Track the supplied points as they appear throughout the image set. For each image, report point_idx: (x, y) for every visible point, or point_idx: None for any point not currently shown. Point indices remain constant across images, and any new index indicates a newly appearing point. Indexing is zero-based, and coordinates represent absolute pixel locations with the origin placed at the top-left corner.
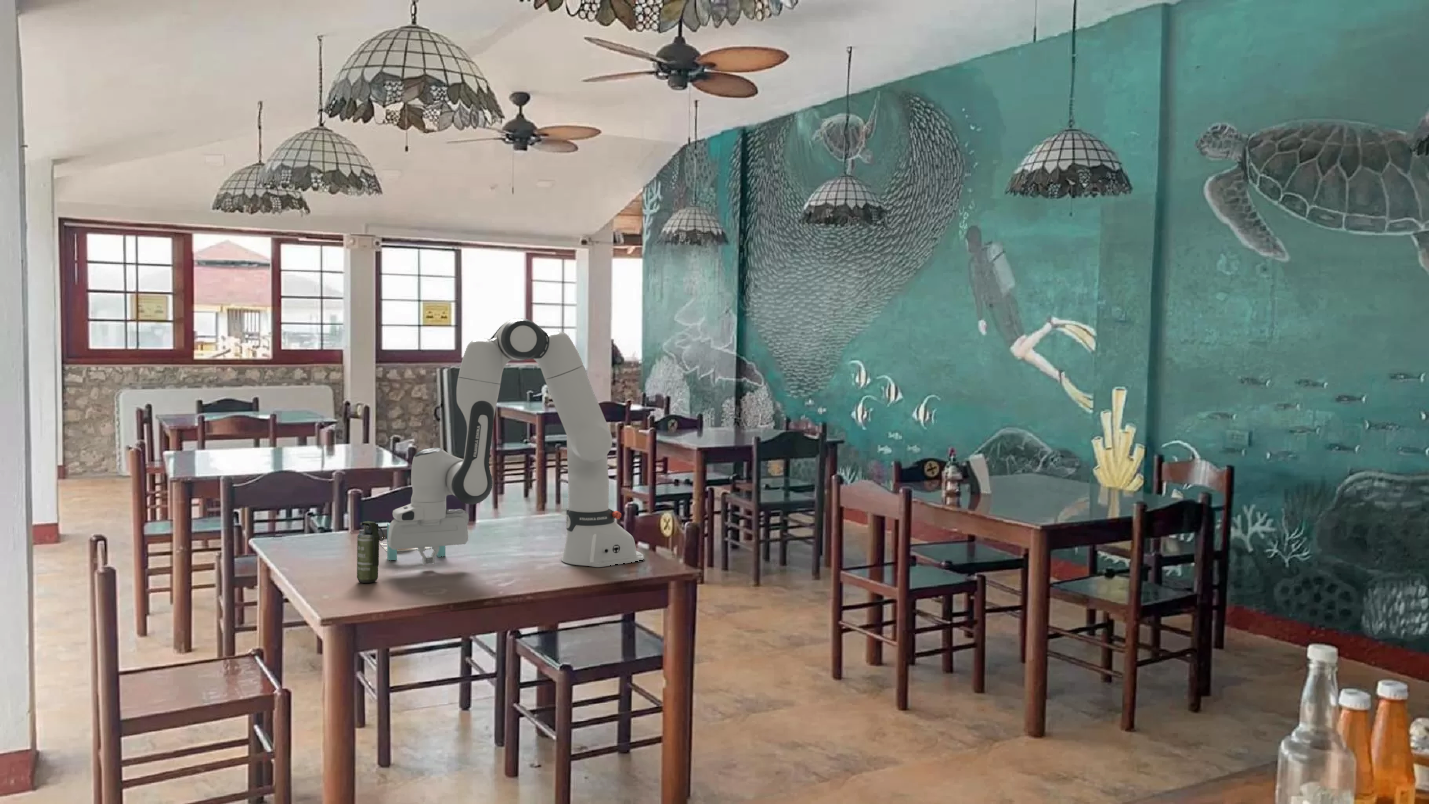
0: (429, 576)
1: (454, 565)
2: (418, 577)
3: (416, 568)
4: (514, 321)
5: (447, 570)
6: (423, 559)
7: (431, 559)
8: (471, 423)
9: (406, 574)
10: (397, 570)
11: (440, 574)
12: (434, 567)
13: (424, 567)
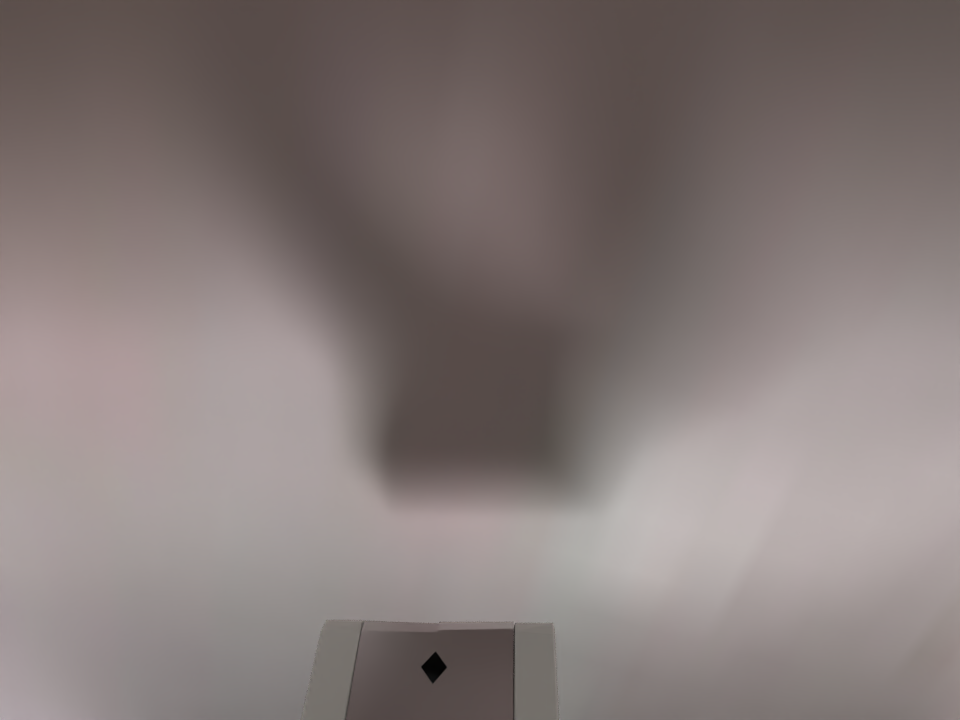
0: (556, 26)
1: (20, 643)
2: (846, 17)
3: (613, 658)
4: None
5: (116, 412)
6: (558, 708)
7: (382, 688)
8: None
9: (943, 379)
10: (928, 644)
11: (267, 140)
12: None
13: None
